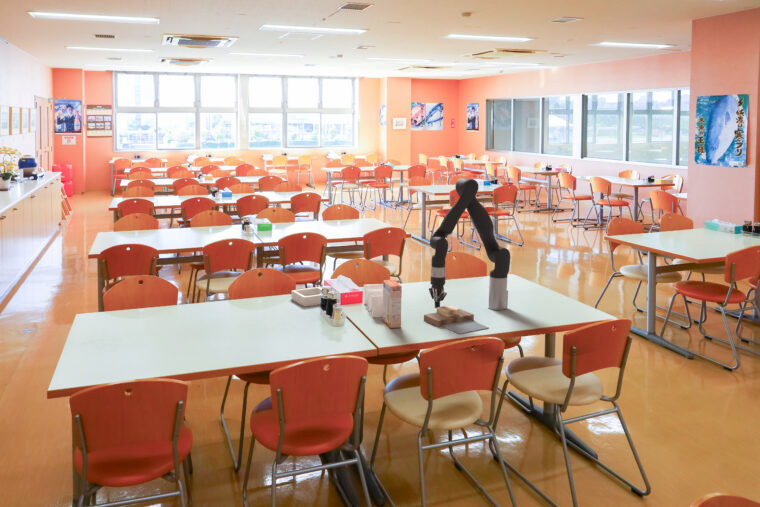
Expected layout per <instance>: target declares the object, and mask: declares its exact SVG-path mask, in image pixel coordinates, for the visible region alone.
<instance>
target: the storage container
mask: <svg viewBox="0 0 760 507" xmlns="http://www.w3.org/2000/svg"><path fill="white" fill-rule="evenodd" d="M363 305H366V309H367V310H368V312H371V318H381V317H382V318H383V283H373V284H371V283H370V284H363Z"/></svg>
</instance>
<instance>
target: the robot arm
mask: <svg viewBox="0 0 760 507" xmlns="http://www.w3.org/2000/svg"><path fill="white" fill-rule="evenodd" d="M479 187H480V186H479V183H478V181H476V180H475V179H473V178H468V177H461V178H459V179H457V180H456V183H455V186H454V188H455V191H456V193H457V195H458V196H459V198H458V199H457V201H456V202H455V204H454V205H453V206H452V207H451V208H450V209H449V210H448V211H447V212H446V214H445V216H444V217H443V219H442V221H441V222H440V225H439V227H438V228H437V229H436V230H435V232H433V234H432V236H431V238H430V239H429V246H430V248H432V249H433V250H435V252H434V254H433V255H431V264H430V265H431V267H430V282H429V283H430V285H431V287H429V288H428V291H429V294H430V297H431V299H432V300H433V302H434V308H435V309H436V310H437V307H441V302H443V301H444V300H445V298H446V296H447V293H448V292H445V288H444V286H445V285H446V258H447V254H448V251H449V242H448V240H447V239H446V237H447V236H449V235H452V233H453V232H454V230H455V229H456V228H455V227H456V226H457V224H458V222H459V220H460V218H461V216H462V215H463V214H464V212H465V210H467V213H468V216H469V217H470V219H471V222H472V224H473V225H474V228H475V230H476V232H477V234H478V236H479V238H480V240H481V242H482V245H483V247H484V250H485V253H486V256H487V258H488V260H489V261H490V262H492V263H493V264H494V268H493V269H491V270H490V271H489V286H488V309H490V310H494V311H502V310H506V309H508V305H509V304H508V300H509V299H508V298H509V290H508V274H509V272H510V268H511V267H510V266H511V252H510V250H509V249H508V248H506V247H503V246H500V245H499V243H498V242H497V239H496V237H495V234H494V233H495V232H494V231H495V230H494V228H495V227H494V223H493V220H492V217H491V215H490V214H489V212H488V211H487V210H486V208H485V207H484V206H483V205H482V204H481V202H479V200H478V198H477V197H476V195H477V193H478V192H479Z"/></svg>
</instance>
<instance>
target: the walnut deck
mask: <svg viewBox="0 0 760 507" xmlns="http://www.w3.org/2000/svg"><path fill="white" fill-rule="evenodd" d="M458 309H459V315H456V316H451V317H444V316H442V315H440V314H437V312H432V313H427V314H423V321H425V322H427V323H429V324H431V325H433V326H435V327H437V328H440V327H442V325H447V324H452V323H457V322H463V321H468V320H472V321H474V320H475V317H474V316H475V314H473V313H471V312H468V311H466V310H465V309H464V310H463V309H461V308H458Z"/></svg>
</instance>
